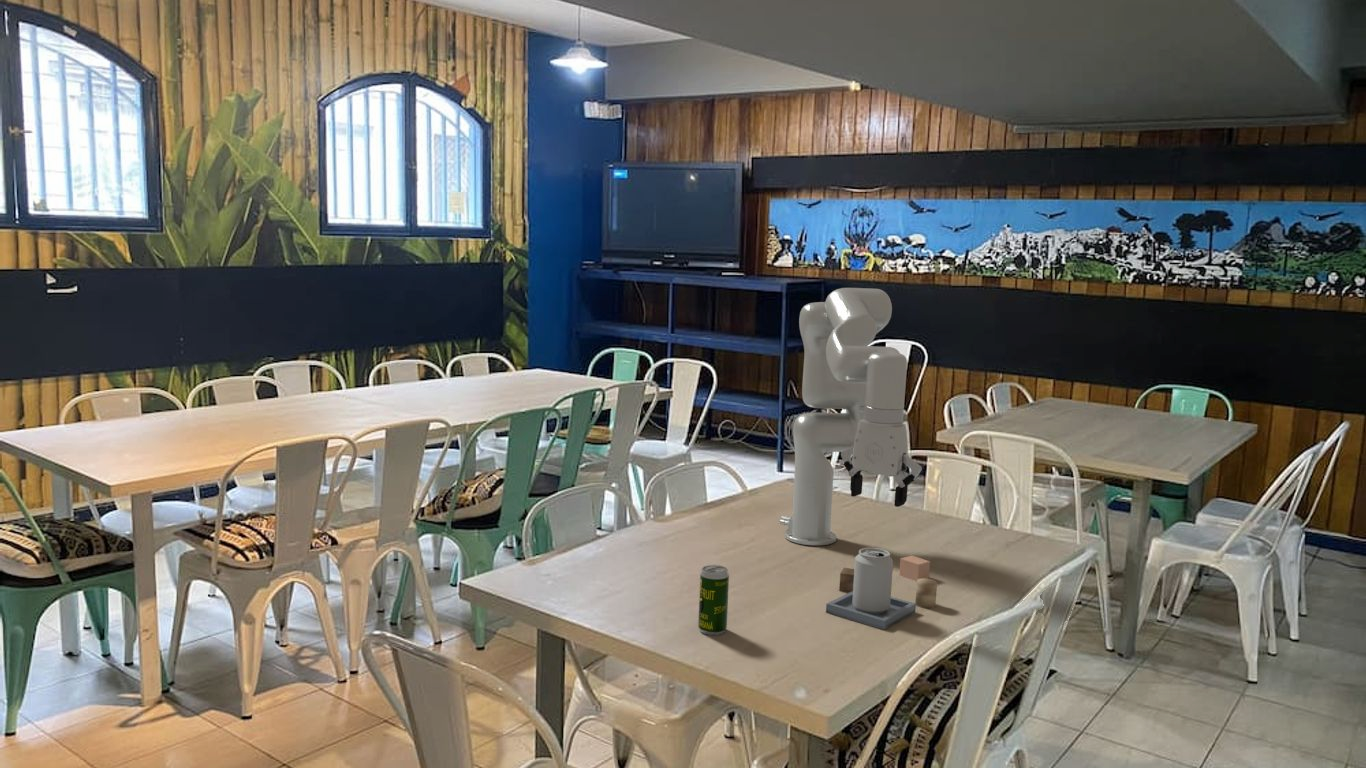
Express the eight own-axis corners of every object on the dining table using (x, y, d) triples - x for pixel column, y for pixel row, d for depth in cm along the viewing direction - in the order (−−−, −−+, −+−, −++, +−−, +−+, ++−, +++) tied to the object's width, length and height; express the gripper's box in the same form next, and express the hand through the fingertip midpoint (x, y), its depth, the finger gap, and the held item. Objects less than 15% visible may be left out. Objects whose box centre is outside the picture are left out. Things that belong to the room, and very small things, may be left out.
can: (889, 617, 202) (893, 558, 201) (851, 613, 204) (854, 555, 202) (890, 604, 210) (893, 547, 208) (852, 600, 211) (856, 544, 209)
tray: (825, 612, 206) (826, 603, 205) (858, 596, 216) (859, 587, 215) (883, 629, 198) (884, 620, 197) (915, 612, 208) (915, 603, 207)
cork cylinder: (912, 604, 212) (913, 581, 211) (920, 599, 215) (922, 576, 214) (929, 609, 209) (931, 586, 209) (938, 604, 212) (940, 581, 212)
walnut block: (839, 591, 219) (840, 573, 218) (842, 585, 222) (843, 567, 222) (857, 594, 217) (859, 575, 217) (861, 588, 221) (862, 570, 220)
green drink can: (710, 622, 198) (712, 562, 196) (732, 630, 195) (735, 569, 193) (692, 630, 194) (694, 569, 192) (714, 638, 191) (717, 576, 189)
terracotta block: (899, 575, 230) (900, 558, 229) (910, 572, 233) (911, 555, 232) (917, 582, 226) (918, 564, 226) (928, 578, 229) (929, 561, 228)
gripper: (835, 411, 203) (830, 495, 206) (915, 425, 192) (908, 513, 195) (854, 406, 209) (849, 488, 212) (933, 419, 198) (926, 505, 201)
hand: (877, 500), depth 204 cm, fingers open, 9 cm apart
